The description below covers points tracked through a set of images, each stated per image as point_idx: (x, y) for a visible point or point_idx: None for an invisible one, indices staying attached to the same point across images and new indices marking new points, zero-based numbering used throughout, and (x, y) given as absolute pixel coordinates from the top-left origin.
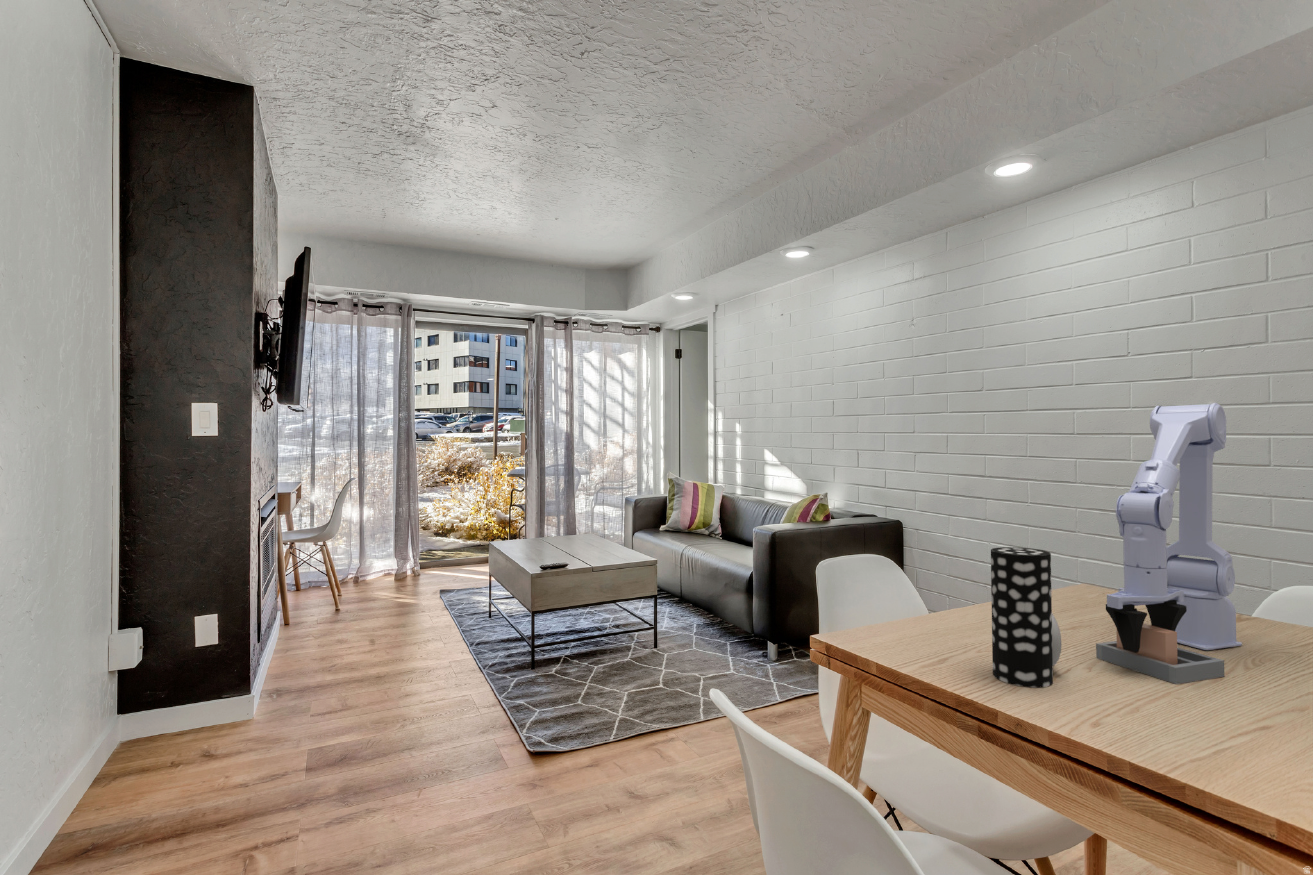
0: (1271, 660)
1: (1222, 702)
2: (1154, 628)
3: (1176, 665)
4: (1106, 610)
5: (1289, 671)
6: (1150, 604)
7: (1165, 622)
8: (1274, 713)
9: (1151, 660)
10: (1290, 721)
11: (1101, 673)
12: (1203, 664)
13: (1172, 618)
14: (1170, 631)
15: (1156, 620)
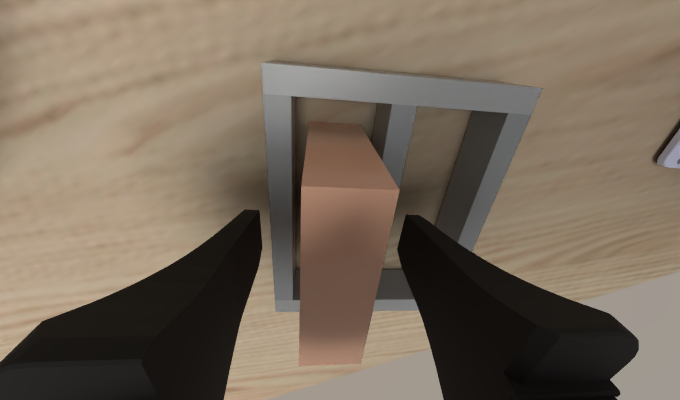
0: (648, 252)
1: (269, 341)
2: (332, 325)
3: (296, 303)
4: (48, 322)
5: (572, 294)
6: (516, 353)
7: (436, 323)
8: (299, 372)
9: (273, 265)
10: (287, 386)
11: (154, 178)
12: (374, 309)
13: (440, 369)
14: (346, 356)
15: (448, 293)
